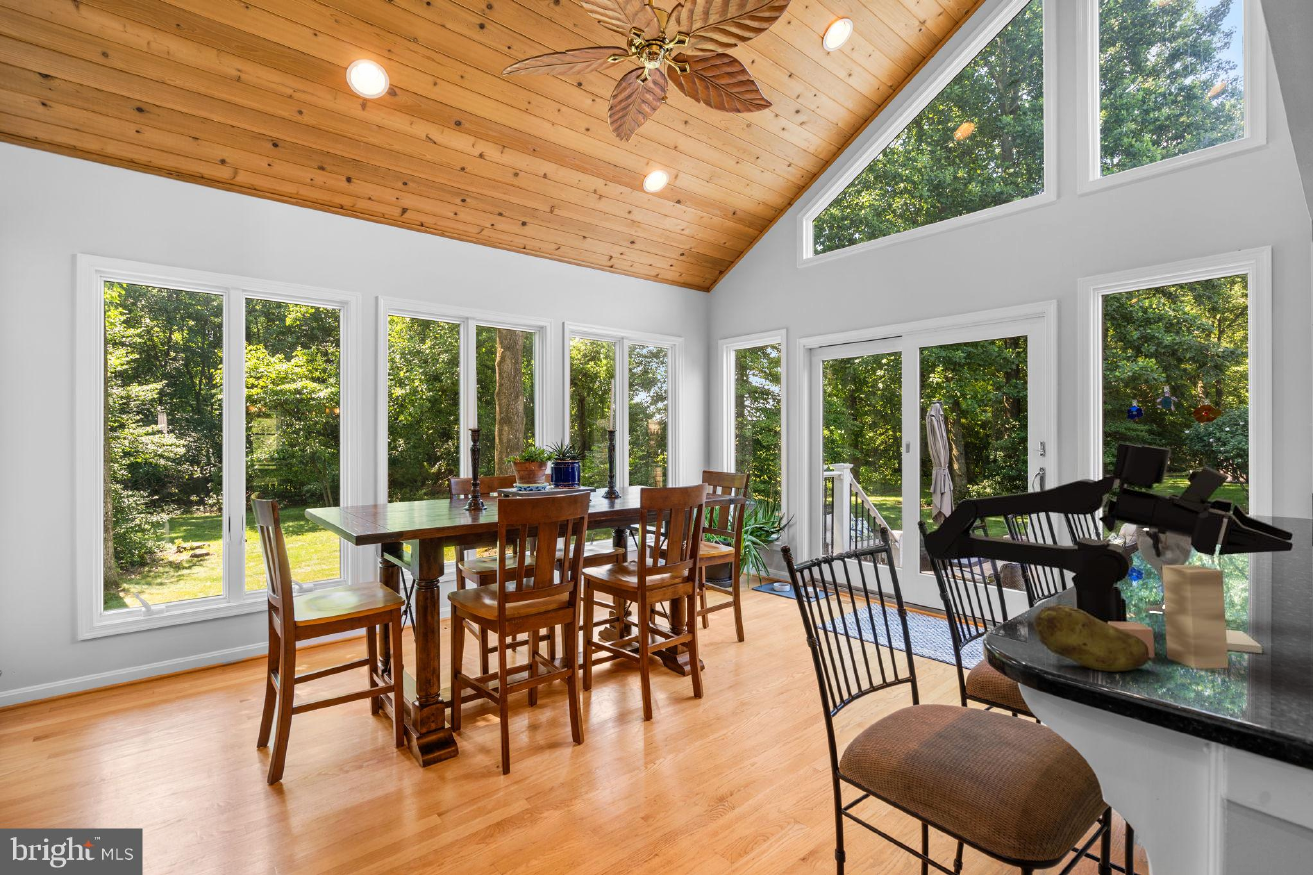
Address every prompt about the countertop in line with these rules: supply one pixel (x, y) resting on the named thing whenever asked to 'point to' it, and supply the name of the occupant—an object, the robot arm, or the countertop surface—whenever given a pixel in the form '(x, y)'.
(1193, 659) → the beech block
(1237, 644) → the stone tile
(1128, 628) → the terracotta cube
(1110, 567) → the robot arm
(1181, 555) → the wine glass
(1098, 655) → the potato
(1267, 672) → the countertop surface
